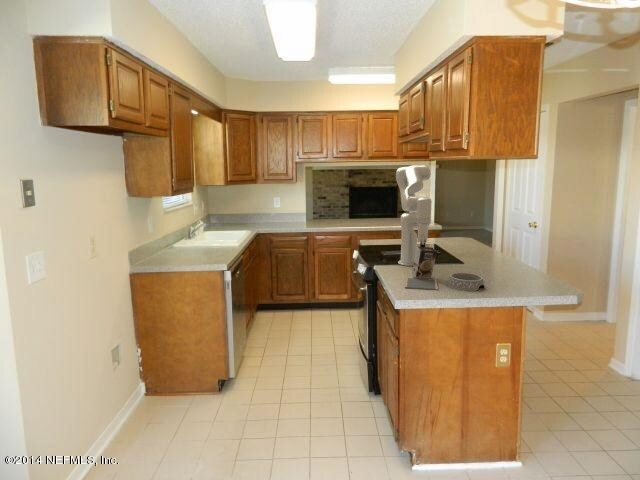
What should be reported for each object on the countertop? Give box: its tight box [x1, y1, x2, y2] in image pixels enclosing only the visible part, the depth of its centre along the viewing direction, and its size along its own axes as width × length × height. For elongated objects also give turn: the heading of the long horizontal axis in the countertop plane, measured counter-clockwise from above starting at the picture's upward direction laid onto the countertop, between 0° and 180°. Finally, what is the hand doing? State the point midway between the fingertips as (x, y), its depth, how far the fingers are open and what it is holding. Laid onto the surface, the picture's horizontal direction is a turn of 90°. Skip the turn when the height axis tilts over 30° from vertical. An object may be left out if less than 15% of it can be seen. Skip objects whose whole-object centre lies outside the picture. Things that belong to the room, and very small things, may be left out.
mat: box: [404, 277, 439, 291], centre depth 234 cm, size 18×16×1 cm
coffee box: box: [411, 246, 438, 279], centre depth 244 cm, size 9×6×16 cm
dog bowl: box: [446, 272, 485, 292], centre depth 231 cm, size 17×18×5 cm
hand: (422, 254), depth 248 cm, fingers closed
